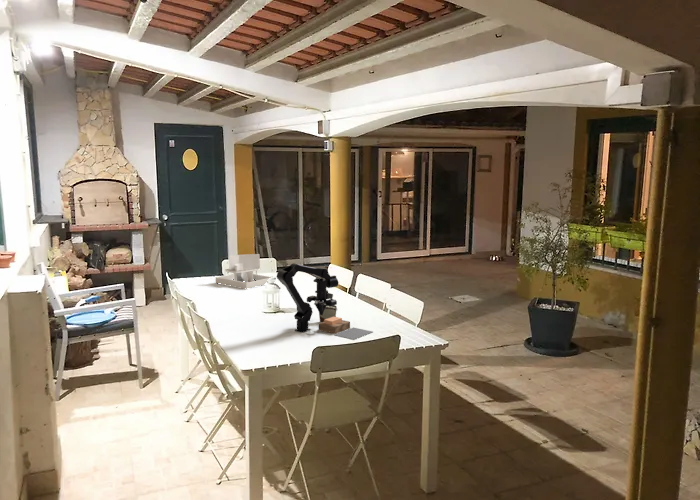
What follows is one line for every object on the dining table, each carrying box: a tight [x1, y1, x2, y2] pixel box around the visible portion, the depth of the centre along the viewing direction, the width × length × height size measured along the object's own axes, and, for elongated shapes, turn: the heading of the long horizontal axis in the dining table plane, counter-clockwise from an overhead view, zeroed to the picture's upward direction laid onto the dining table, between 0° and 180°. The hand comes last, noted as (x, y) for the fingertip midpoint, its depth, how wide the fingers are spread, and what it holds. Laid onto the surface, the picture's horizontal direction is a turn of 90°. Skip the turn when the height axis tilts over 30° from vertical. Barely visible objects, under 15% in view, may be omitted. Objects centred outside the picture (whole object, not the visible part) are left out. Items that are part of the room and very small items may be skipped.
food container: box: [318, 305, 338, 323], centre depth 337 cm, size 12×6×10 cm, turn 72°
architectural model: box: [224, 253, 261, 283], centre depth 447 cm, size 28×21×23 cm
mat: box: [334, 327, 374, 341], centre depth 313 cm, size 18×14×1 cm
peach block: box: [324, 316, 343, 325], centre depth 321 cm, size 9×6×2 cm, turn 143°
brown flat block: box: [318, 319, 351, 335], centre depth 321 cm, size 14×12×4 cm
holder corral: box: [215, 273, 272, 290], centre depth 448 cm, size 29×36×5 cm
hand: (321, 315), depth 326 cm, fingers closed
